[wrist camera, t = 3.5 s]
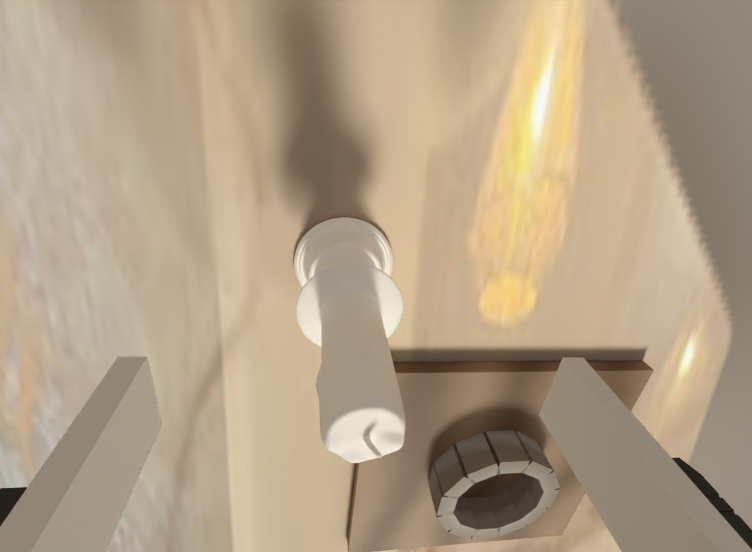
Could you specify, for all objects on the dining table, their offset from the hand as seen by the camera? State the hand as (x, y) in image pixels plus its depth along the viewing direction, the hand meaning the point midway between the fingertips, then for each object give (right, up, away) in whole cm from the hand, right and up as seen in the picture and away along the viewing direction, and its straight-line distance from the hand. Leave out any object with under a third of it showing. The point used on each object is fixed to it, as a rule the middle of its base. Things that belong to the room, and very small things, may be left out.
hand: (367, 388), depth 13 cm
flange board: (+9, -11, +18) cm, 23 cm away
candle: (-2, +5, +9) cm, 10 cm away
